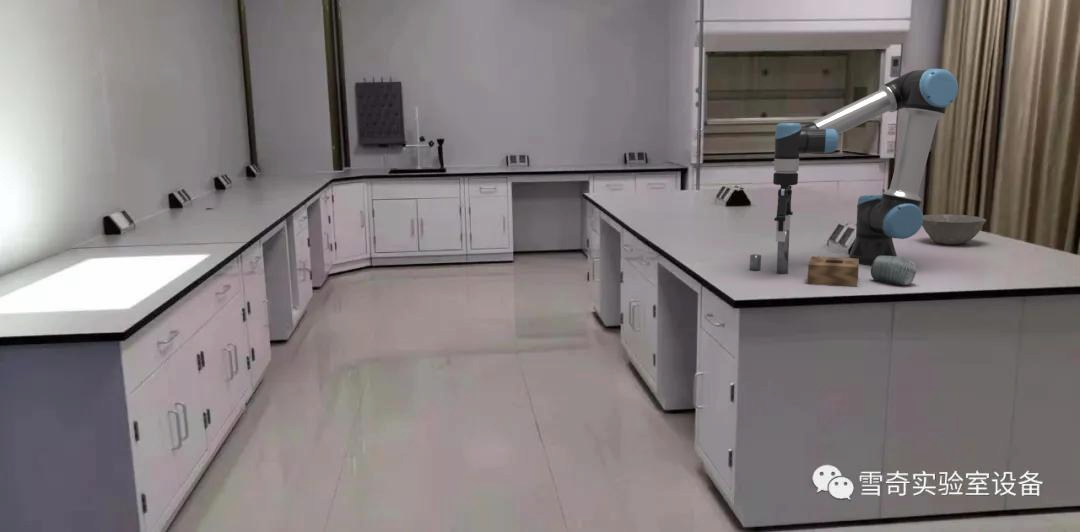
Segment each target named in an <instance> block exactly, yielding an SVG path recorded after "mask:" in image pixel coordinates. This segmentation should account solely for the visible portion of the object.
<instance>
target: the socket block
mask: <svg viewBox="0 0 1080 532" xmlns="http://www.w3.org/2000/svg"><path fill="white" fill-rule="evenodd" d="M859 264H860V263H859V259H856V258H849V257H833V256H811V258H810V260H809V263H808V265H807V266H808V269H807V284H808V285H820V284H821V286H822V285H823V286H836V287H837V286H840V287H858V286H857V285H858V282H859V281H858V279H859V278H858V277H859V266H860V265H859Z"/></svg>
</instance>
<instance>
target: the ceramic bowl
mask: <svg viewBox="0 0 1080 532" xmlns="http://www.w3.org/2000/svg"><path fill="white" fill-rule="evenodd" d="M986 222H987V219H986V218H983V217H979V216H973V215H966V214H951V213H949V214H942V213H940V214H923V223H922V226H921V227H922V228H923V229H924V231H925V232H926V234H927V235H928V237H929V238H930V239H931V240H932V241H933V242H935V243H938V244H944V245H963V244H966V243H967V242H970V241H972V239H974V238H975V237H976V236H977V235H978V234H979V233H980V231H981V229H982V228H983V226H984V224H985V223H986Z"/></svg>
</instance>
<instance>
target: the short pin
mask: <svg viewBox="0 0 1080 532" xmlns="http://www.w3.org/2000/svg"><path fill="white" fill-rule="evenodd" d="M749 270H750V271H751V272H760V271H762V254H757V253H753V254H750V255H749Z"/></svg>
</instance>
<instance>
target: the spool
mask: <svg viewBox="0 0 1080 532" xmlns="http://www.w3.org/2000/svg"><path fill="white" fill-rule="evenodd" d="M870 266H871V267H870V276H871V278H872V279H874V280H875V281H877V282H885V283H891V284H895V285H896V284H897V285H900V286H908V285H910V284H911V283H913V281H914V279H915V276H916V274H917V266H916V264H915V263H914V262H913V261H911V260H910V259H907V258H905V257H904V258H903V257H900V256H897V257H896V256H878V257H876V258H875V260H874V261H873V263H872V265H870Z"/></svg>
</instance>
